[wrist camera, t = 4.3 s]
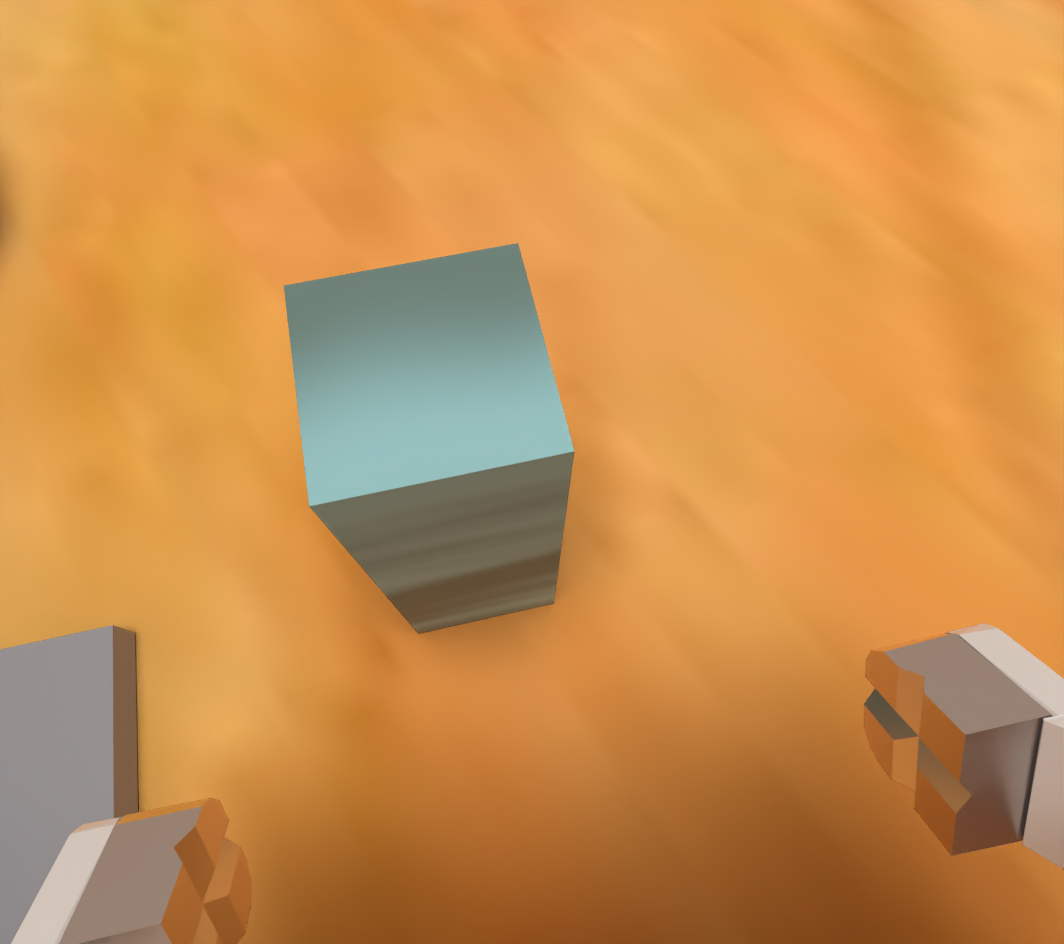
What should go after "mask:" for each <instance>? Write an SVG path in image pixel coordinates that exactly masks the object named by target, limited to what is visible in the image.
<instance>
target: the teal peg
mask: <svg viewBox="0 0 1064 944" xmlns="http://www.w3.org/2000/svg"><path fill="white" fill-rule="evenodd" d="M284 291H285V300H286V308H287V317H288V326H289V334H290V343H291V352H292V361H293V369H294V378H295V387H296V395H297V404H298V413H299V421H300V430H301V439H302V447H303V456H304V465H305V474H306V482H307V491H308V500H309V507H310V508H311V509H312V510H313V511H314V512H315V514H316V515H317V516H318V517H319V518H320V519H321V521H322V522H323V523H324V524H325V525H326V526H327V528H328V529H329V530H330V531H331V532H332V533H333V535H334V536H335V537H336V538H337V539H338V540H339V542H340V543H341V544H342V545H343V546H344V547H345V549H346V550H347V551H348V552H349V553H350V554H351V556H352V557H353V558H354V559H355V560H356V561H357V563H358V564H359V565H360V566H361V567H362V568H363V570H364V571H365V572H366V573H367V574H368V575H369V577H370V578H371V579H372V580H373V581H374V582H375V584H376V585H377V586H378V587H379V588H380V589H381V591H382V592H383V593H384V594H385V595H386V596H387V598H388V599H389V600H390V601H391V602H392V603H393V605H394V606H395V607H396V608H397V609H398V610H399V612H400V613H401V614H402V615H403V616H404V617H405V619H406V620H407V621H408V622H409V623H410V624H411V626H412V627H413V628H414V629H415V630H416V631H417V633H418V634H420V633H424V632H429V631H433V630H438V629H442V628H447V627H451V626H455V625H460V624H464V623H469V622H473V621H478V620H482V619H487V618H491V617H496V616H500V615H504V614H509V613H513V612H518V611H522V610H527V609H531V608H536V607H540V606H544V605H549V604H553V603H554V598H555V590H556V583H557V576H558V568H559V561H560V553H561V546H562V539H563V531H564V524H565V516H566V509H567V502H568V494H569V487H570V479H571V472H572V465H573V457H574V448H573V445H572V441H571V437H570V434H569V430H568V426H567V423H566V419H565V415H564V411H563V408H562V404H561V400H560V397H559V393H558V389H557V386H556V382H555V378H554V374H553V371H552V367H551V363H550V360H549V356H548V352H547V349H546V345H545V341H544V338H543V334H542V330H541V326H540V323H539V319H538V315H537V312H536V308H535V304H534V301H533V297H532V293H531V289H530V286H529V282H528V278H527V275H526V271H525V267H524V264H523V260H522V256H521V252H520V249H519V245H518V243H517V244H511V245H506V246H500V247H495V248H489V249H483V250H478V251H472V252H467V253H461V254H456V255H450V256H445V257H439V258H434V259H428V260H423V261H417V262H412V263H406V264H401V265H395V266H390V267H384V268H379V269H373V270H367V271H362V272H356V273H351V274H345V275H340V276H334V277H329V278H323V279H318V280H312V281H307V282H301V283H296V284H290V285H285V286H284Z"/></svg>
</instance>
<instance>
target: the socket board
mask: <svg viewBox="0 0 1064 944" xmlns="http://www.w3.org/2000/svg"><path fill="white" fill-rule="evenodd" d="M133 813H138V771H137V711H136V652H135V633H134V632H131V631H128V630H125V629H122V628H119V627H116V626H113V625H112V626H107V627H103V628H98V629H94V630H89V631H84V632H80V633H75V634H70V635H66V636H61V637H57V638H52V639H47V640H43V641H38V642H33V643H29V644H24V645H19V646H15V647H10V648H6V649H1V650H0V944H11V942H12V940H13V939H14V937H15V935H16V933H17V931H18V929H19V927H20V926H21V924H22V922H23V920H24V918H25V916H26V914H27V913H28V911H29V909H30V907H31V905H32V903H33V901H34V900H35V898H36V896H37V894H38V892H39V890H40V888H41V887H42V885H43V883H44V881H45V879H46V877H47V875H48V874H49V872H50V870H51V868H52V866H53V864H54V863H55V861H56V859H57V857H58V855H59V853H60V851H61V850H62V848H63V846H64V844H65V842H66V840H67V838H68V837H69V835H70V834H71V833H72V832H74V831H75V830H76V829H77V828H78V827H80V826H81V825H82V824H87V823H92V822H97V821H102V820H108V819H113V818H118V817H124V816H125V815H128V814H133Z"/></svg>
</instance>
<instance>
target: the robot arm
mask: <svg viewBox="0 0 1064 944" xmlns="http://www.w3.org/2000/svg"><path fill="white" fill-rule="evenodd" d="M865 677H866V678H867V679H868V680H869V681H870V683H871V684H872V685H873V686H874V687H875V689H874V691H873V692H872V694H871V695H870V696H869V698H868V699H867V701H866V702H865V703H864V727H865V731H866V734H867V737H868V741H869V744H870V747H871V749H872V751H873V753H874V755H875V757H876V758H877V760H878V762H879V764H880V765H881V766H882V768H883V769H884V770H885V772H886V773H887V774H888V776H889V777H890V778H891V780H893V781H895V782H897V783H899V784H901V785H903V786H905V787H907V788H909V789H911V790H913V791H915V807H914V809H915V810H916V812H917V813H918V814H919V815H920V817H921V818H922V819H923V820H924V822H925V823H926V824H927V825H928V827H929V828H930V829H931V830H932V832H933V833H934V834H935V835H936V837H937V838H938V839H939V840H940V842H941V843H942V844H943V846H944V847H945V848H946V849H947V851H948V852H949V853H950V854H951V856H953V855H957V854H962V853H967V852H971V851H976V850H981V849H985V848H990V847H994V846H999V845H1004V844H1008V843H1013V842H1018V841H1022V840H1023V843H1022V845H1024V846H1025V847H1027V848H1029V849H1030V850H1032V851H1034V852H1035V853H1037V854H1039V855H1040V856H1042V857H1044V858H1046V859H1047V860H1049V861H1051V862H1052V863H1054V864H1056V865H1057V866H1059V867H1061V868H1062V869H1064V679H1063V678H1062V677H1061V676H1059V675H1058V674H1057V673H1056V672H1054V671H1053V670H1052V669H1050V668H1049V667H1048V666H1046V665H1045V664H1044V663H1043V662H1041V661H1040V660H1039V659H1037V658H1036V657H1035V656H1034V655H1032V654H1031V653H1030V652H1028V651H1027V650H1026V649H1024V648H1023V647H1022V646H1021V645H1019V644H1018V643H1017V642H1015V641H1014V640H1013V639H1011V638H1010V637H1009V636H1008V635H1006V634H1005V633H1004V632H1002V631H1001V630H1000V629H999V628H997V627H995V626H992V625H989V624H986V623H983V624H978V625H974V626H970V627H966V628H962V629H958V630H954V631H949V632H946V633H945V634H939V635H935V636H930V637H926V638H922V639H917V640H913V641H909V642H904V643H900V644H896V645H892V646H887V647H883V648H879V649H874V650H871V651H870V653H869V655H868V657H867V659H866V668H865ZM228 822H229V819H228V817H227V815H226V813H225V811H224V809H223V807H222V805H221V803H220V801H219V800H216V799H211V798H208V799H203V800H198V801H193V802H188V803H183V804H178V805H173V806H168V807H163V808H158V809H153V810H148V811H143V812H138V813H133V814H128V815H125V816H124V817H118V818H113V819H108V820H102V821H97V822H92V823H87V824H82V825H81V826H80V827H78V828H77V829H76V830H75V831H74V832H72V833H71V834H70V835H69V837H68V838H67V840H66V842H65V844H64V846H63V848H62V850H61V851H60V853H59V855H58V857H57V859H56V861H55V863H54V864H53V866H52V868H51V870H50V872H49V874H48V875H47V877H46V879H45V881H44V883H43V885H42V887H41V888H40V890H39V892H38V894H37V896H36V898H35V900H34V901H33V903H32V905H31V907H30V909H29V911H28V913H27V914H26V916H25V918H24V920H23V922H22V924H21V926H20V927H19V929H18V931H17V933H16V935H15V937H14V939H13V940H12V942H11V944H237V943H238V942H239V941H240V939H241V938H242V937H243V936H244V934H245V933H246V928H247V923H248V918H249V914H250V909H251V879H250V874H249V869H248V864H247V860H246V858H245V855H244V853H243V851H242V848H241V847H240V846H238V845H237V844H235V843H233V842H231V841H229V840H228V839H226V838H224V836H225V833H226V829H227V826H228Z"/></svg>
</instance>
